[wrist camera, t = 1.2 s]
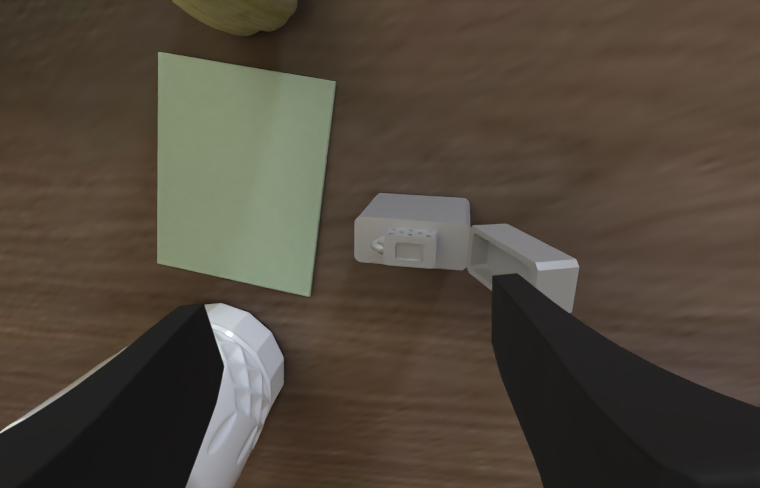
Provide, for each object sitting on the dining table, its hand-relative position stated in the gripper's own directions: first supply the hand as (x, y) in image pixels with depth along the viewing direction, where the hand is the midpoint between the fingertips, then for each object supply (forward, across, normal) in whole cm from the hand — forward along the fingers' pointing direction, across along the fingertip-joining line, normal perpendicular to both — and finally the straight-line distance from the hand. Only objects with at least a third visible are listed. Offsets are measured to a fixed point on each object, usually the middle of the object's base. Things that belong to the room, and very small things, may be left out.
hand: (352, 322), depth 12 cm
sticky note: (+12, +6, 0) cm, 13 cm away
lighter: (+10, -4, +2) cm, 11 cm away
